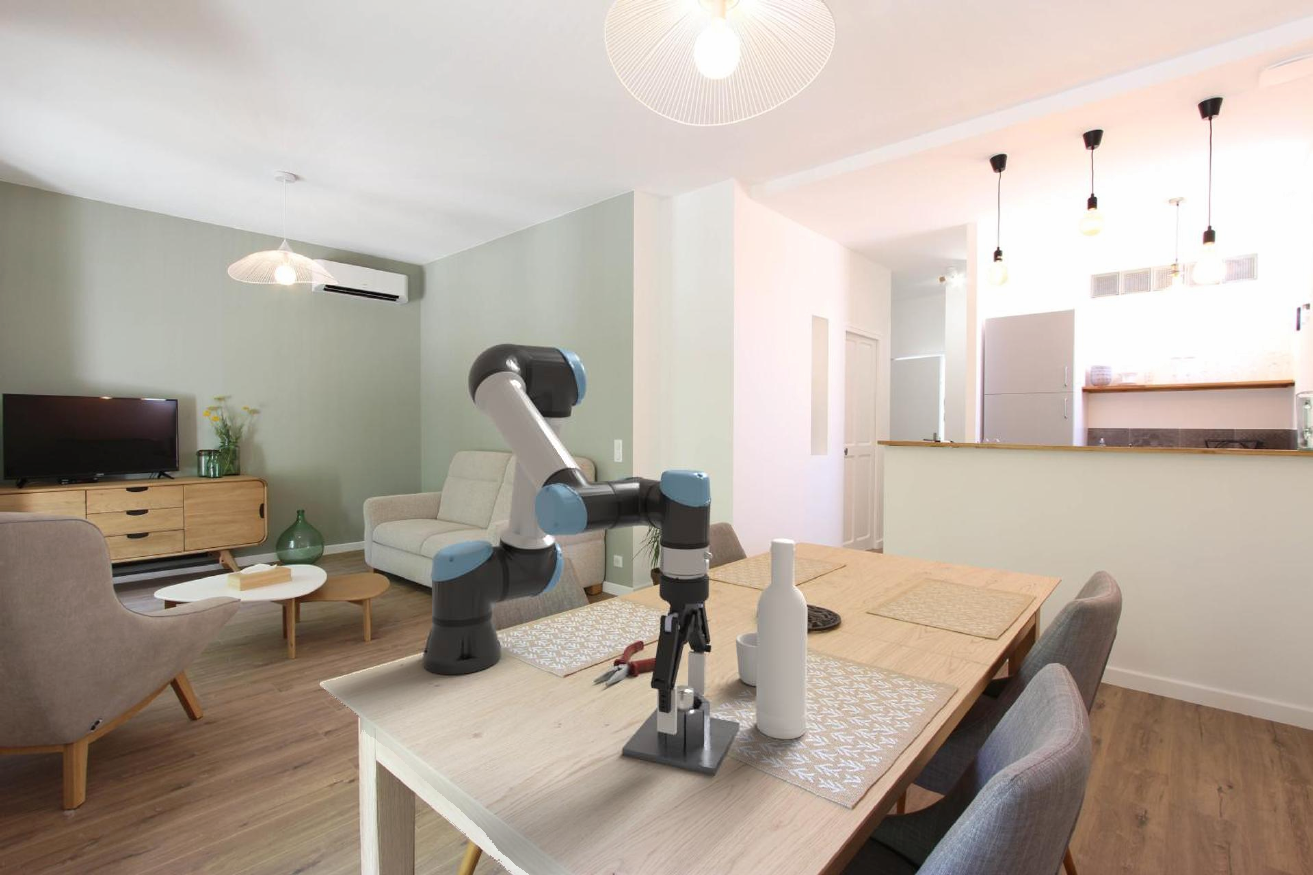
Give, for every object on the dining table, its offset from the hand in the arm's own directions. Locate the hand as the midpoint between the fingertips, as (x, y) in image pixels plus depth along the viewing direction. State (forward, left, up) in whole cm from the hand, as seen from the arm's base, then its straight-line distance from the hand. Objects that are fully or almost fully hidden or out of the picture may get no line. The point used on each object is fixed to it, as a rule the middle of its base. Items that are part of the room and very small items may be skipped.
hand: (682, 710), depth 94 cm
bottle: (+13, +10, -5) cm, 17 cm away
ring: (0, 0, -4) cm, 4 cm away
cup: (+7, +26, -5) cm, 27 cm away
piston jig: (0, 0, -5) cm, 5 cm away
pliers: (-19, +24, -5) cm, 31 cm away
